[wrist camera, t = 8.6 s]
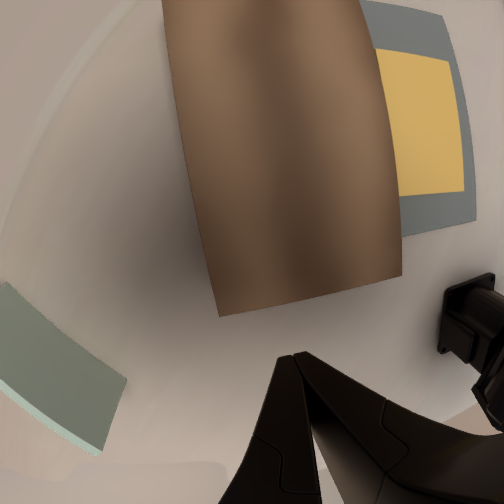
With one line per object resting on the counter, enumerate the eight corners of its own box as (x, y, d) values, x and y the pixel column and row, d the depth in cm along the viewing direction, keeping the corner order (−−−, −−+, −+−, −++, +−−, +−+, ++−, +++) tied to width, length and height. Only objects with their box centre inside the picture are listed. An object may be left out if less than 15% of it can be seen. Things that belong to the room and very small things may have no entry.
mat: (439, 17, 15) (442, 15, 15) (473, 219, 20) (476, 220, 20) (328, -1, 15) (330, -3, 14) (372, 241, 20) (375, 242, 19)
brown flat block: (337, 5, 15) (353, -14, 12) (379, 261, 20) (401, 275, 17) (168, 19, 14) (161, -3, 11) (219, 294, 19) (219, 316, 17)
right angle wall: (-18, 366, 19) (-55, 409, 12) (7, 281, 18) (-52, 324, 11) (76, 439, 22) (55, 495, 15) (127, 378, 21) (102, 451, 13)
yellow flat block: (431, 67, 16) (448, 61, 14) (446, 188, 19) (464, 191, 17) (361, 57, 16) (375, 48, 14) (378, 193, 18) (394, 196, 16)
